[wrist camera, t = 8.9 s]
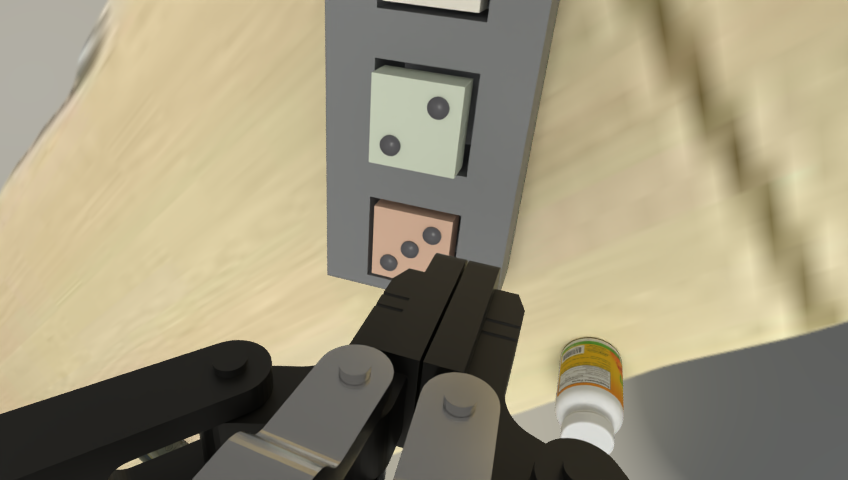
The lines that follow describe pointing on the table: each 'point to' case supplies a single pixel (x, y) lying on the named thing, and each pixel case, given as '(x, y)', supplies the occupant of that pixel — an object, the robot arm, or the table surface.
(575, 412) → the supplement bottle
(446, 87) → the pale green flat block
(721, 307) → the table surface
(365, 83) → the console
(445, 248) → the tan block with dots
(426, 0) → the tile
